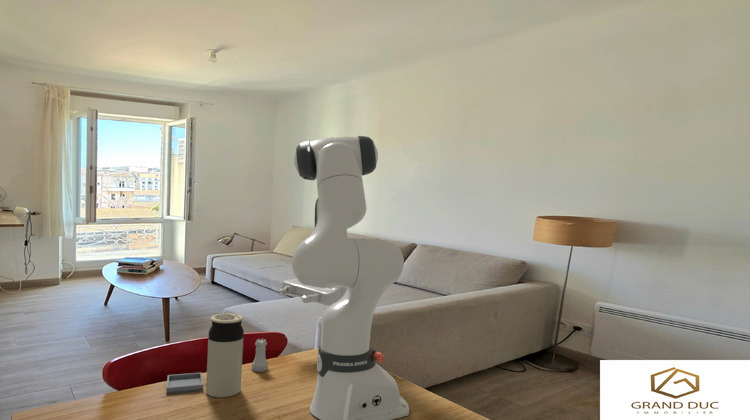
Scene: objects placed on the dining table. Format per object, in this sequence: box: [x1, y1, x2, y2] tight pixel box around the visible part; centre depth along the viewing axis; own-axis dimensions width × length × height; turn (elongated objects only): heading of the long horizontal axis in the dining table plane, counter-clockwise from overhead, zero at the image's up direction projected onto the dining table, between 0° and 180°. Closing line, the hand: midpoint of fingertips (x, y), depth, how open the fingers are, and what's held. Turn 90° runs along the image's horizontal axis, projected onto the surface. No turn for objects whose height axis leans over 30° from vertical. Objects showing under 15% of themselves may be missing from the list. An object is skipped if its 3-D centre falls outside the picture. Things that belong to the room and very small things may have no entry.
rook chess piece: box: [251, 338, 269, 373], centre depth 130 cm, size 4×4×8 cm
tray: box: [166, 372, 204, 395], centre depth 117 cm, size 8×8×2 cm
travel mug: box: [205, 312, 245, 399], centre depth 115 cm, size 8×8×18 cm
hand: (292, 296), depth 139 cm, fingers open, 8 cm apart
